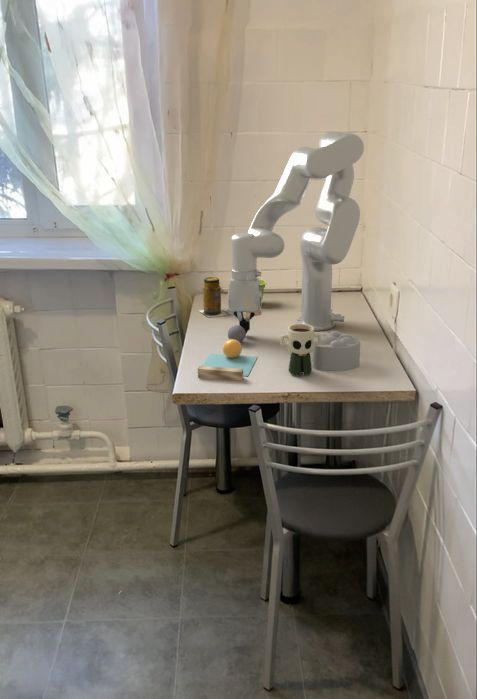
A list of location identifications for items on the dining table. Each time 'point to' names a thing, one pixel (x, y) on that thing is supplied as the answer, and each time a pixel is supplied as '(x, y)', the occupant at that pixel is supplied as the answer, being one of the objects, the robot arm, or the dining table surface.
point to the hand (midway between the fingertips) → (244, 332)
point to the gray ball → (237, 333)
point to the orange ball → (232, 348)
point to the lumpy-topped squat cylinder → (336, 352)
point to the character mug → (300, 347)
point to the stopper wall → (220, 373)
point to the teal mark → (231, 362)
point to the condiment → (212, 298)
